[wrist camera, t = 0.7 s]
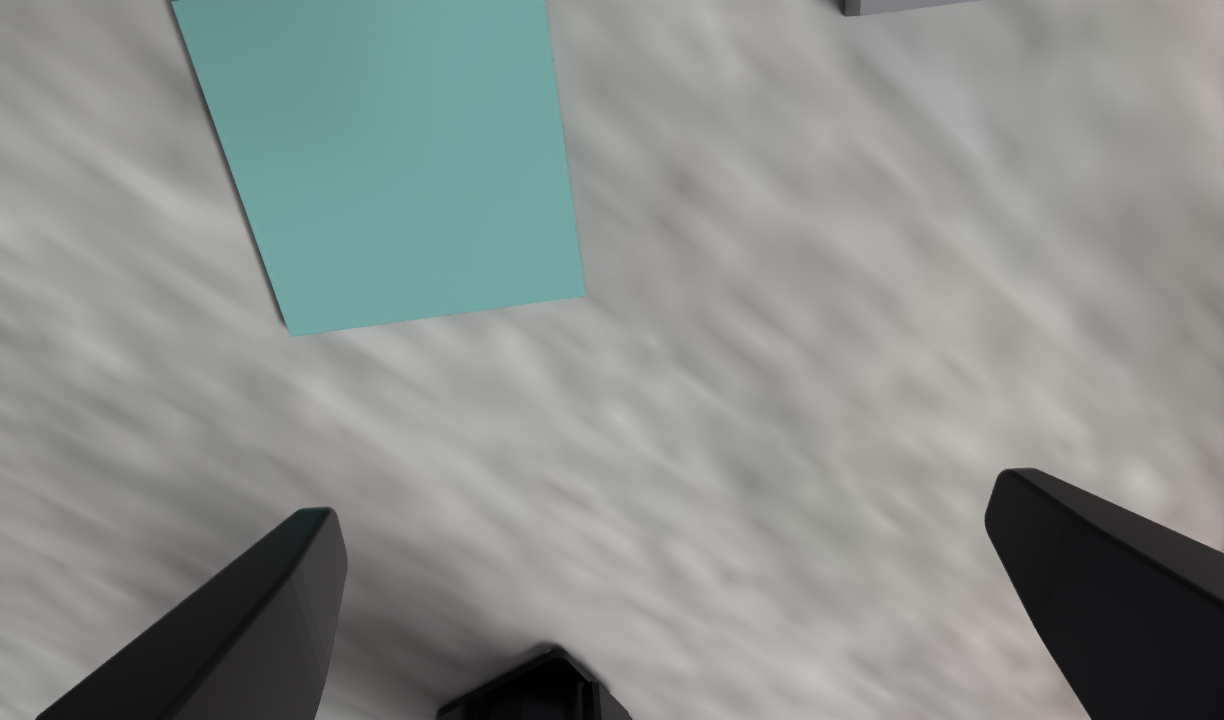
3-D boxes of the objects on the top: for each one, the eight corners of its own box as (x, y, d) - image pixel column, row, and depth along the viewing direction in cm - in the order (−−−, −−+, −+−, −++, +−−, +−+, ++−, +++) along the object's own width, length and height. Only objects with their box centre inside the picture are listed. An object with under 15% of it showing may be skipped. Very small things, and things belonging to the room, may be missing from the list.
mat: (585, 291, 21) (585, 295, 21) (295, 331, 21) (290, 337, 20) (538, -42, 17) (538, -44, 17) (178, 2, 17) (170, 1, 16)
